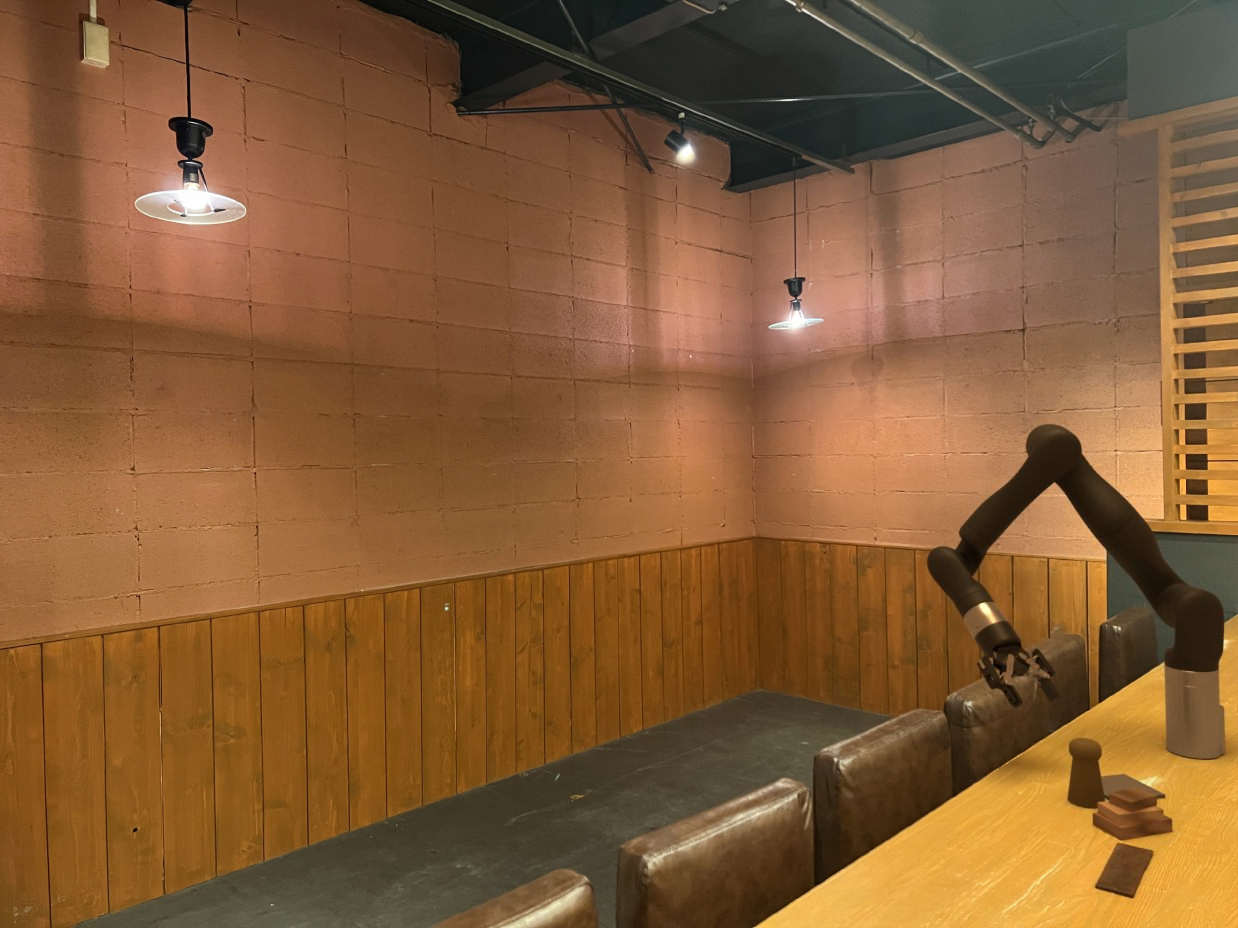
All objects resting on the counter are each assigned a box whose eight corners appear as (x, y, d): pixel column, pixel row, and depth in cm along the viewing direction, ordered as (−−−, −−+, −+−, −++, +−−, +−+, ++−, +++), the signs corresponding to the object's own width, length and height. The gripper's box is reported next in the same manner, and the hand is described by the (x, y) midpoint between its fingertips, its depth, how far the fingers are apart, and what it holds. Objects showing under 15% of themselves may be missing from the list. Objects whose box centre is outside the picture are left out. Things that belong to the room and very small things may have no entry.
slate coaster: (1124, 776, 166) (1124, 773, 166) (1165, 797, 156) (1165, 794, 156) (1076, 782, 165) (1076, 778, 165) (1114, 803, 155) (1114, 800, 155)
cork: (1102, 796, 158) (1100, 735, 158) (1109, 810, 152) (1107, 746, 152) (1064, 793, 160) (1063, 732, 160) (1070, 806, 154) (1068, 744, 154)
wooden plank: (1116, 839, 140) (1153, 846, 136) (1117, 847, 140) (1154, 854, 136) (1094, 885, 127) (1134, 893, 124) (1095, 894, 127) (1135, 902, 124)
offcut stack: (1142, 816, 149) (1141, 784, 149) (1173, 831, 143) (1172, 798, 143) (1092, 824, 147) (1091, 792, 147) (1122, 840, 141) (1121, 806, 141)
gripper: (971, 623, 171) (1017, 697, 161) (1029, 615, 176) (1078, 687, 165) (953, 644, 177) (997, 717, 166) (1010, 637, 181) (1056, 707, 171)
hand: (1037, 702), depth 166 cm, fingers open, 8 cm apart
